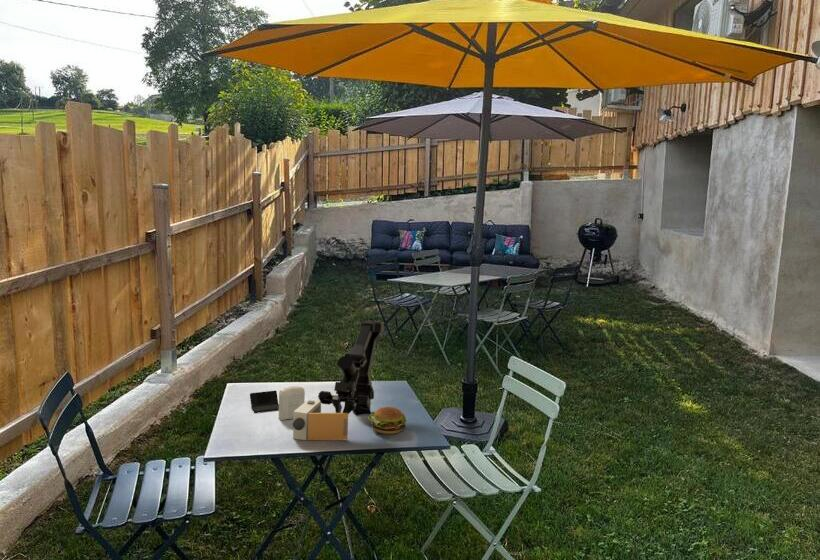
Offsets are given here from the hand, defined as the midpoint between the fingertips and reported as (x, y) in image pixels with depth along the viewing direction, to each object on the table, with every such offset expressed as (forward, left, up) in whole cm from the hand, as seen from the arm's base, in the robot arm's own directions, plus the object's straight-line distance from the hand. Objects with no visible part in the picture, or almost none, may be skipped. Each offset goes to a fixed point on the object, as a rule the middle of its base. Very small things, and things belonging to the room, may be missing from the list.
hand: (338, 421), depth 221 cm
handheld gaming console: (+20, -39, -7) cm, 44 cm away
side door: (+4, 0, -6) cm, 8 cm away
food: (-20, -5, -7) cm, 22 cm away
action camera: (+9, -10, -7) cm, 15 cm away
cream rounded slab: (+12, -26, -7) cm, 29 cm away
